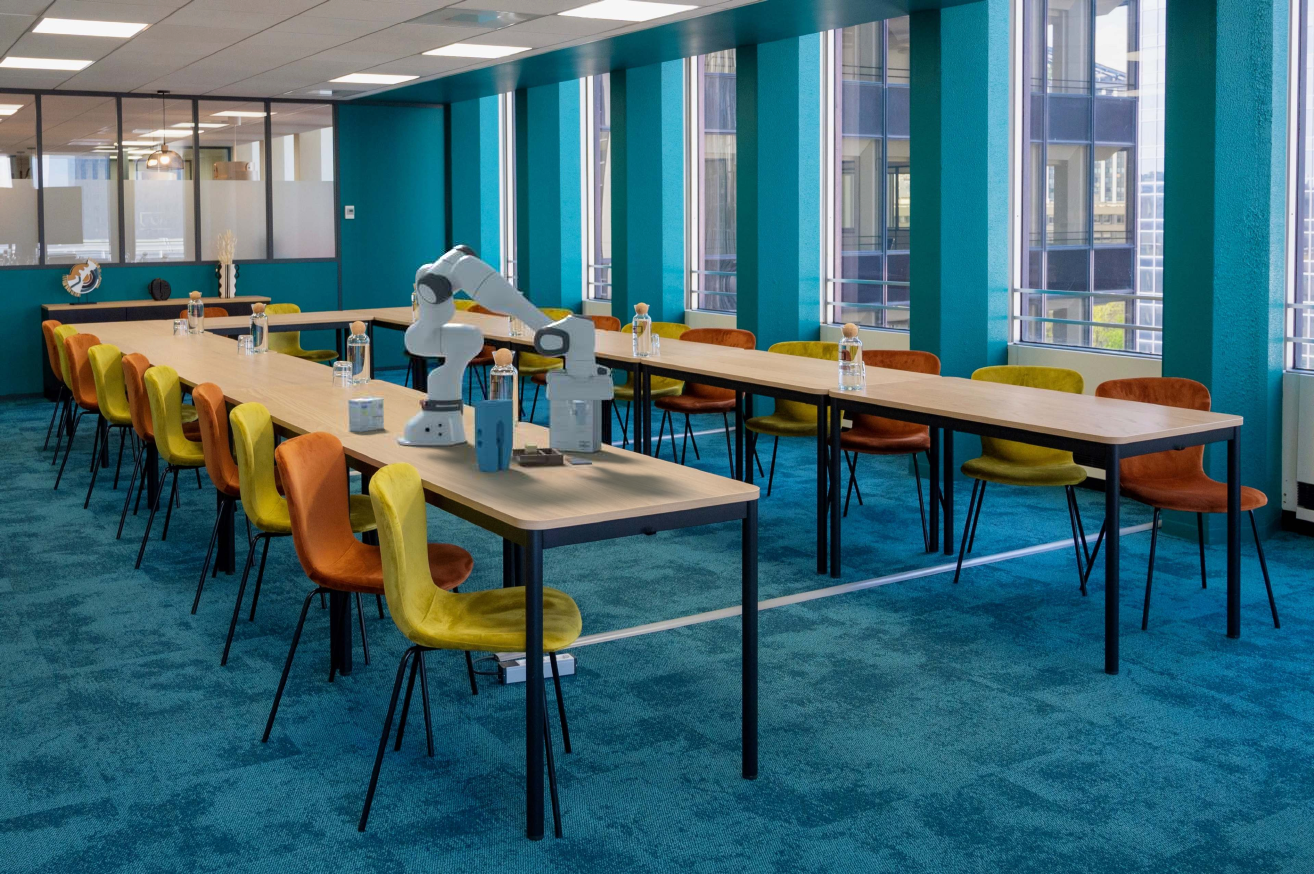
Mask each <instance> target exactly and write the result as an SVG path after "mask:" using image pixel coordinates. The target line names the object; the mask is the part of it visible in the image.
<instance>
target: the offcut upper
mask: <svg viewBox="0 0 1314 874" xmlns="http://www.w3.org/2000/svg"><path fill="white" fill-rule="evenodd" d="M537 448H538V445H537V444H536V443H524V449H525V450H526V451H527V452H537Z"/></svg>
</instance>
